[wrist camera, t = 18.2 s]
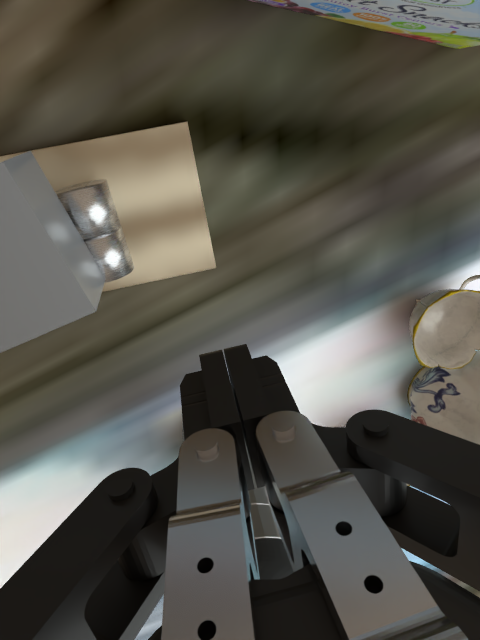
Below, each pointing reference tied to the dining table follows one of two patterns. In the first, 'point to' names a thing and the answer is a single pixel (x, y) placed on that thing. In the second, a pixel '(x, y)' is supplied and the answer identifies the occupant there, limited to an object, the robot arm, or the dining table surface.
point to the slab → (40, 257)
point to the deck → (143, 196)
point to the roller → (98, 226)
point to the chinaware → (447, 362)
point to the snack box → (401, 17)
